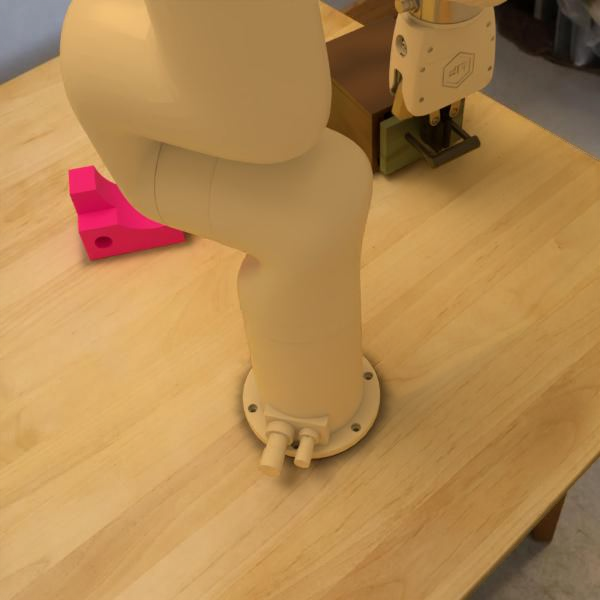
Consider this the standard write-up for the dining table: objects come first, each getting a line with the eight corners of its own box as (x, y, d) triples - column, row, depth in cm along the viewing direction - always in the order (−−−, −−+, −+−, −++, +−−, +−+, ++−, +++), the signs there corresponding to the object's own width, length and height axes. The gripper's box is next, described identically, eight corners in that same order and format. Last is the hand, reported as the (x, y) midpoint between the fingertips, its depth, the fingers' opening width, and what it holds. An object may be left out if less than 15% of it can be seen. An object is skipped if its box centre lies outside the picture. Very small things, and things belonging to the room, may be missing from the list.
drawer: (492, 167, 95) (499, 119, 89) (415, 206, 92) (418, 158, 86) (398, 83, 105) (399, 35, 99) (326, 115, 102) (323, 68, 97)
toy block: (90, 260, 91) (70, 211, 86) (87, 219, 95) (68, 169, 89) (227, 233, 92) (217, 183, 87) (219, 193, 96) (209, 142, 90)
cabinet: (454, 134, 100) (460, 73, 93) (372, 174, 97) (371, 114, 90) (388, 75, 107) (389, 15, 100) (309, 110, 104) (305, 50, 97)
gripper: (401, 40, 74) (397, 190, 89) (536, -18, 78) (511, 135, 93) (354, 0, 79) (358, 150, 93) (484, -53, 83) (468, 98, 97)
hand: (434, 142), depth 93 cm, fingers closed
